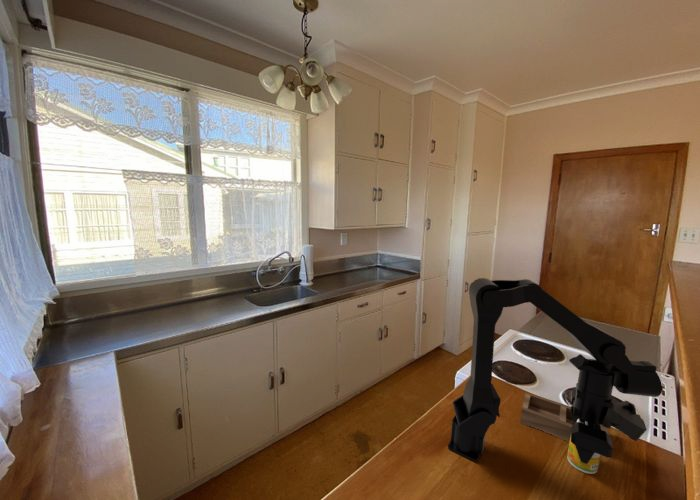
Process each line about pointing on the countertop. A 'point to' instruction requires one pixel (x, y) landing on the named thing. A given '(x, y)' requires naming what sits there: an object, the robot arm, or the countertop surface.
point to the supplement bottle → (576, 462)
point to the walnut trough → (548, 416)
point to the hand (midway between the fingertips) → (583, 454)
